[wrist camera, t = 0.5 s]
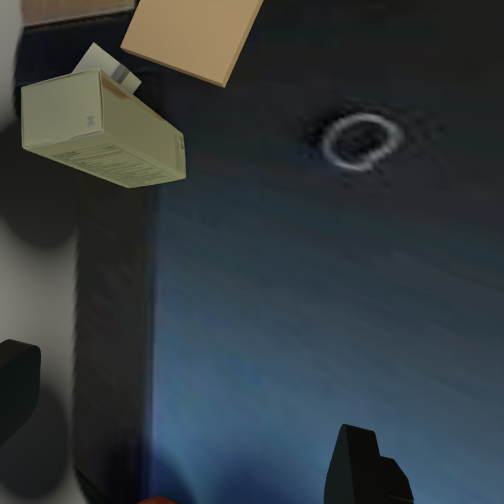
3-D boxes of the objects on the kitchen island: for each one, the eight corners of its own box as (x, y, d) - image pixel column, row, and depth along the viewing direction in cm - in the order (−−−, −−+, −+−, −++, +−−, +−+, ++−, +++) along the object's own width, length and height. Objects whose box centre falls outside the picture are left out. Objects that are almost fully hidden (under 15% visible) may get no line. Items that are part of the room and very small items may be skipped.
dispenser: (106, 54, 39) (89, 38, 37) (141, 82, 38) (126, 68, 36) (46, 137, 40) (26, 127, 38) (79, 166, 39) (60, 158, 37)
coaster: (171, -57, 38) (168, -64, 37) (276, -29, 36) (274, -36, 35) (125, 51, 39) (120, 47, 38) (224, 87, 36) (221, 83, 35)
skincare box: (184, 132, 37) (104, 63, 25) (187, 179, 36) (108, 131, 24) (120, 144, 38) (16, 83, 26) (123, 189, 38) (19, 149, 26)
